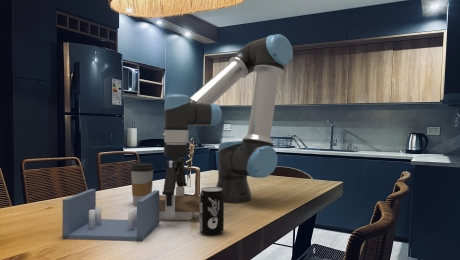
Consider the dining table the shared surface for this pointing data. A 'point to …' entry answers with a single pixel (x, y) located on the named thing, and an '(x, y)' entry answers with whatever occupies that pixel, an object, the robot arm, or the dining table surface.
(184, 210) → the walnut board
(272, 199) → the dining table surface
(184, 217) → the block
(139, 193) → the coffee cup
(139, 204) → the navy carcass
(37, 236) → the dining table surface
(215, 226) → the beverage can
